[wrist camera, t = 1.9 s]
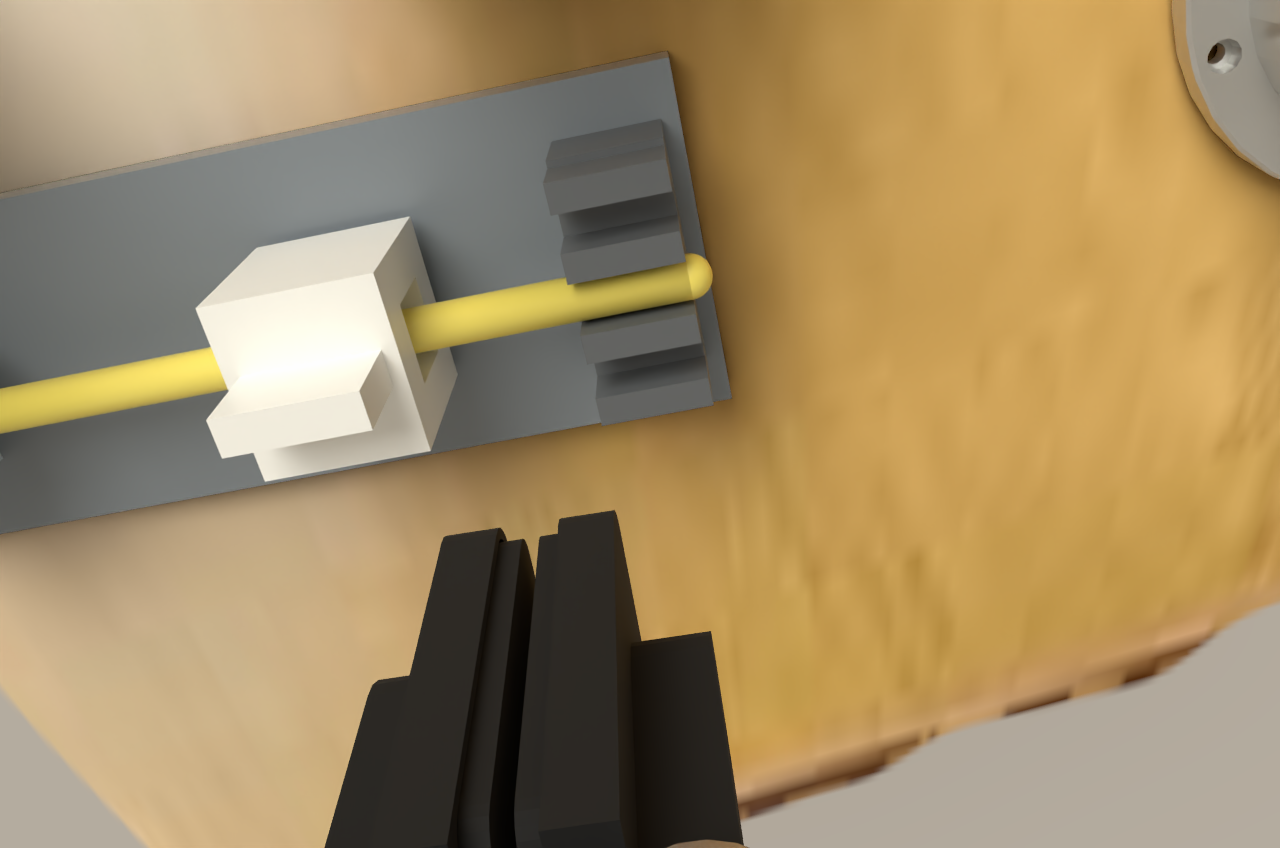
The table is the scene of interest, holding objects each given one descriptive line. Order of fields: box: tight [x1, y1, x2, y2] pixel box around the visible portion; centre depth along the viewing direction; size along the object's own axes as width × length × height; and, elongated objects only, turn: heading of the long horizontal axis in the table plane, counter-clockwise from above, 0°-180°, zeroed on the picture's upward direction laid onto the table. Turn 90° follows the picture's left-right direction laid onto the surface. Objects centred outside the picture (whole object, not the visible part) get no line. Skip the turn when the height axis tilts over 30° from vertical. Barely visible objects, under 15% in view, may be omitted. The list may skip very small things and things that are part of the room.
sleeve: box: [195, 217, 458, 482], centre depth 29 cm, size 4×5×7 cm
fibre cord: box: [0, 253, 713, 434], centre depth 30 cm, size 23×1×1 cm, turn 102°
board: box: [0, 51, 732, 534], centre depth 31 cm, size 26×10×5 cm, turn 102°
